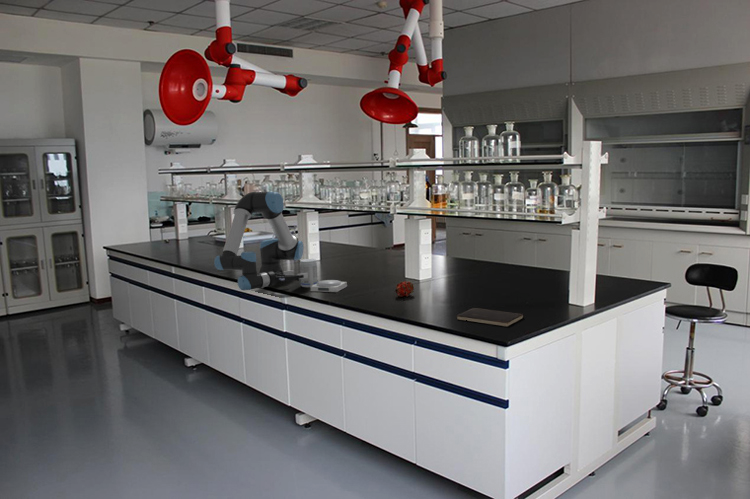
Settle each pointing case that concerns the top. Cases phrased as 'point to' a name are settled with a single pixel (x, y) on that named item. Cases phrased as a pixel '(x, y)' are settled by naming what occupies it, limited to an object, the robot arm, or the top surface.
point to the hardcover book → (490, 316)
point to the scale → (329, 286)
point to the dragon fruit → (404, 289)
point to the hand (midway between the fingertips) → (300, 273)
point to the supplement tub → (309, 272)
